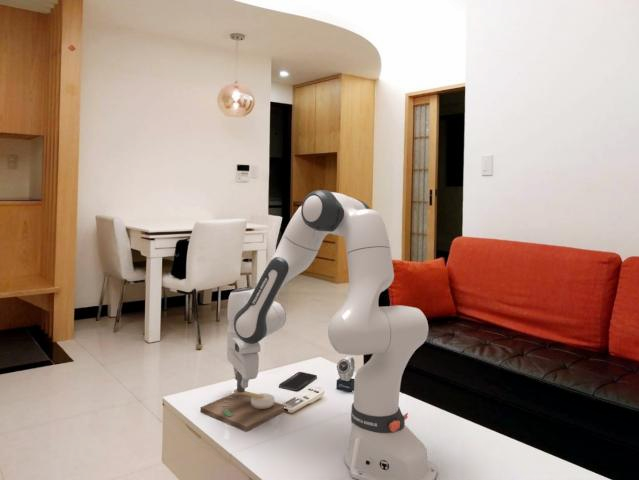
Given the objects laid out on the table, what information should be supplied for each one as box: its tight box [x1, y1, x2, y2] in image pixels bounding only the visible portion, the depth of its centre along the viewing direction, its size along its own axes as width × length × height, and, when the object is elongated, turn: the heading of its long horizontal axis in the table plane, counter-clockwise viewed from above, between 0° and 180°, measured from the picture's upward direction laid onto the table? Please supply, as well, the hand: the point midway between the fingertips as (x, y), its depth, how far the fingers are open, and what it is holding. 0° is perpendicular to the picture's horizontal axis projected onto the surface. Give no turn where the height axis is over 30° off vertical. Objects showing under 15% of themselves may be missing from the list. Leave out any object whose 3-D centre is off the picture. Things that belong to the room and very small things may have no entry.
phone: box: [278, 371, 318, 393], centre depth 171 cm, size 8×1×15 cm
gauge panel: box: [200, 392, 287, 433], centre depth 147 cm, size 19×17×2 cm
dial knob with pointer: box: [233, 372, 275, 409], centre depth 150 cm, size 14×7×8 cm, turn 64°
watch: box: [335, 355, 356, 393], centre depth 166 cm, size 6×8×11 cm
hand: (241, 383), depth 152 cm, fingers open, 5 cm apart
